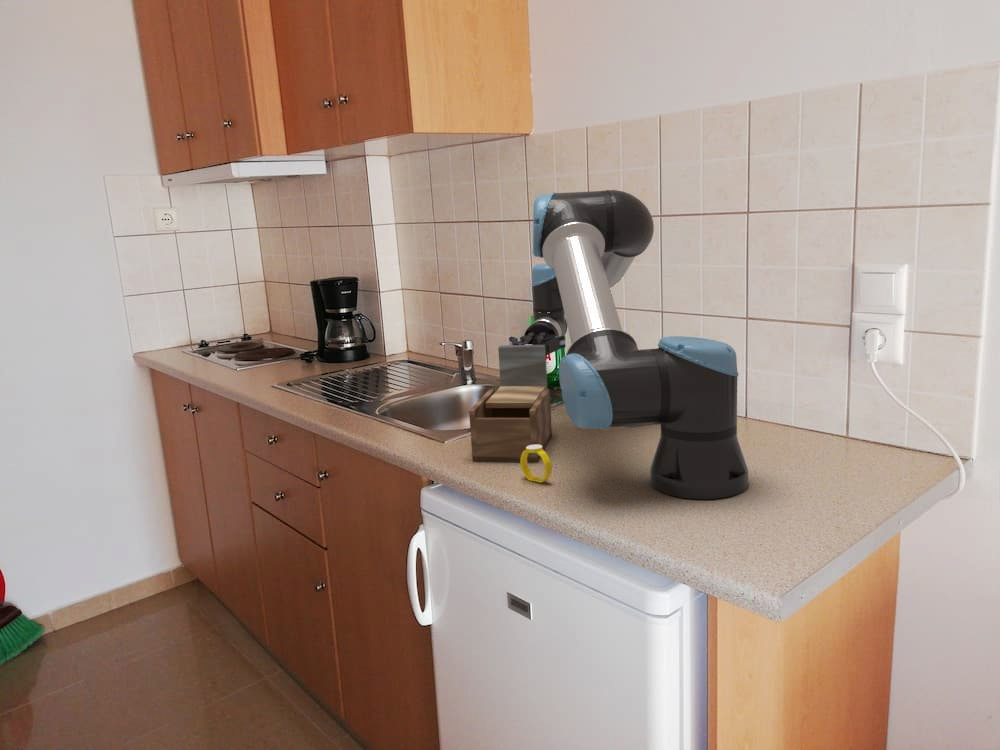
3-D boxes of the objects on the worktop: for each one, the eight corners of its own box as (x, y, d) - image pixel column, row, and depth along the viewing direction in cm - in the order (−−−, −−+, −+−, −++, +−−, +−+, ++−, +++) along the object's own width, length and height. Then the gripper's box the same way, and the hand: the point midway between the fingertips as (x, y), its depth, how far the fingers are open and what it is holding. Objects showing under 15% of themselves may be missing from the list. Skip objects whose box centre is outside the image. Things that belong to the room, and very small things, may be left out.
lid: (534, 407, 145) (531, 360, 143) (485, 407, 147) (482, 360, 145) (547, 388, 159) (545, 344, 157) (503, 388, 161) (500, 345, 159)
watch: (555, 482, 130) (554, 447, 129) (544, 487, 128) (542, 452, 127) (529, 474, 134) (527, 441, 133) (518, 479, 132) (516, 445, 131)
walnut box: (537, 462, 140) (535, 410, 138) (472, 461, 143) (469, 410, 141) (551, 435, 155) (549, 388, 153) (492, 435, 158) (489, 389, 156)
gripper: (571, 351, 181) (556, 374, 158) (516, 352, 184) (492, 375, 161) (570, 319, 179) (554, 337, 157) (514, 320, 182) (490, 339, 160)
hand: (523, 356), depth 159 cm, fingers closed
